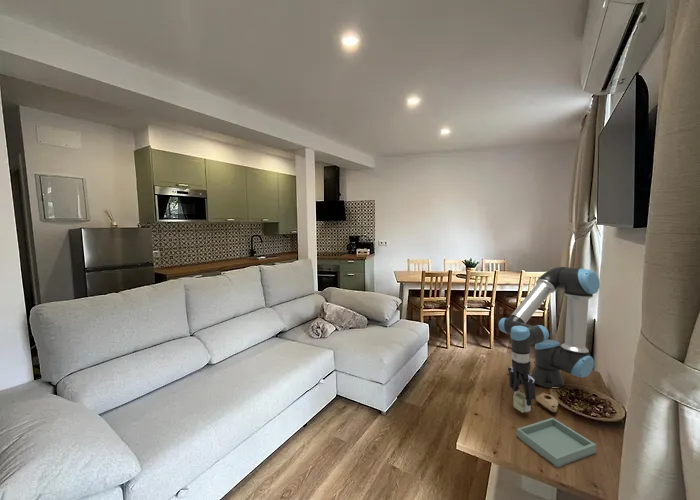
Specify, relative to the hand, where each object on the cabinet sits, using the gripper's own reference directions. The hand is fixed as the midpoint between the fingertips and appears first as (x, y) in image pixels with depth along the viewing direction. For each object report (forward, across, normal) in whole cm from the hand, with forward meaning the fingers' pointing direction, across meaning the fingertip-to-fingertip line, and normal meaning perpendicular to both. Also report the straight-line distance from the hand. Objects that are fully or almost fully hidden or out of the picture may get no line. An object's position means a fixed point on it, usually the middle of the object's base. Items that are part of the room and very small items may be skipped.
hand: (522, 407), depth 145 cm
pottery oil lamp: (+4, +1, +14) cm, 15 cm away
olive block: (0, 0, 0) cm, 1 cm away
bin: (+3, +20, -5) cm, 21 cm away
